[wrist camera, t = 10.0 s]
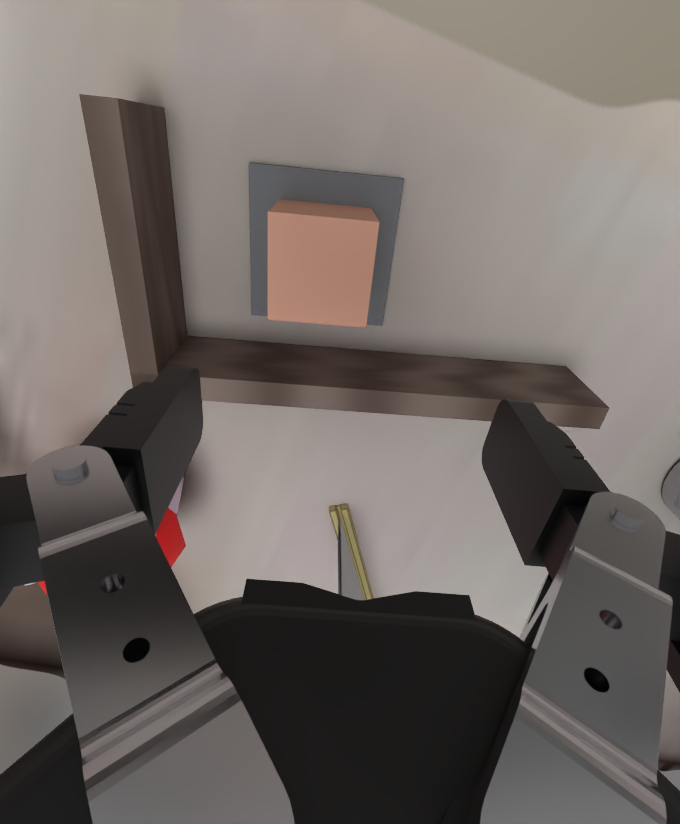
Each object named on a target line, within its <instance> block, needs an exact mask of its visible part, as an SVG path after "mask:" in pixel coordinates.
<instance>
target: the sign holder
mask: <svg viewBox="0 0 680 824" xmlns="http://www.w3.org/2000/svg"><path fill="white" fill-rule="evenodd" d="M329 513H330V516H331V520H332V523H333V526H334V529H335V533H336V536H337V539H338V594H339V595H342V596H345V597H349V598H352V599H355V600H369V599H373V595H372V592H371V588H370V584H369V580H368V577H367V573H366V569H365V566H364V562H363V558H362V555H361V551H360V547H359V544H358V540H357V536H356V533H355V529H354V525H353V522H352V518H351V514H350V511H349V507H348V504H340V505H334V506H330V507H329Z"/></svg>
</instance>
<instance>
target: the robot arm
mask: <svg viewBox="0 0 680 824" xmlns="http://www.w3.org/2000/svg"><path fill="white" fill-rule="evenodd" d="M202 429H203V412H202V398H201V383H200V374H199V371H198V369H197V368H191V367H181V366H171V365H167V366H165V367H164V369H163V370H162V371H161V373H160V374H159V375H158V376H157V378H156V379H155V380H154V381H153V383H152V382H143V383H141V384H139V385H137V386H135V387H133V388H132V389H130V390H128V391H127V392H126V393H125V394H124V395H123V396H122V397H121V399H120V400H119V401H118V402H117V405H115V406H114V407H113V408H112V409H111V410H110V411H109V415H106V416H105V417H104V418H103V419H102V421H101V422H100V423H99V424H98V425H97V426H96V427H95V429H94V430H93V431H92V432H91V433H90V434H89V436H88V437H87V438H86V439H85V440H84V441H83V443H82V444H81V445H80V446H71V447H66V448H62V449H59V450H56V451H53V452H51V453H49V454H47V455H45V456H43V457H41V458H40V459H38V460H37V461H36V462H35V463H33V465H32V466H31V467H30V468H29V470H28V472H27V474H23V475H15V476H6V477H0V607H1V605H2V604H3V602H4V601H5V599H6V598H7V596H8V595H9V593H10V592H11V590H12V589H13V587H15V586H20V585H25V584H30V583H36V582H41V581H45V585H46V590H47V594H48V599H49V604H50V608H51V613H52V618H53V622H54V627H55V632H56V636H57V641H58V645H59V650H60V655H61V659H62V664H63V669H64V673H65V678H66V683H67V687H68V692H69V696H70V701H71V706H72V710H73V714H72V715H70V716H69V717H68V718H67V719H66V720H64V721H63V722H62V723H61V724H60V725H58V726H57V727H56V728H55V729H54V730H53V731H51V732H50V733H49V734H48V735H47V736H45V737H44V738H43V739H42V740H41V741H40V742H38V743H37V744H36V745H35V746H34V747H33V748H31V749H30V750H29V751H28V752H27V753H25V754H24V755H23V756H22V757H21V758H19V759H18V760H17V761H16V762H15V763H14V764H12V765H11V766H10V767H9V768H8V769H6V770H5V771H4V772H3V773H2V774H1V775H0V824H680V791H679V790H678V789H677V788H676V787H675V786H674V785H673V784H672V783H671V782H670V781H669V780H668V779H667V778H666V777H665V776H664V775H662V773H661V772H660V771H658V770H657V766H658V756H659V745H660V734H661V724H662V713H663V702H664V692H665V681H666V670H667V671H668V672H669V674H670V676H671V678H672V679H673V681H674V683H675V685H676V687H677V688H678V690H679V692H680V535H678V534H675V533H671V532H668V531H666V530H665V527H664V525H663V523H662V521H661V520H660V519H659V517H658V516H657V515H656V514H655V513H654V512H652V511H651V510H650V509H649V508H647V507H646V506H644V505H643V504H641V503H640V502H638V501H636V500H634V499H632V498H629V497H627V496H624V495H621V494H618V493H613V492H610V491H609V489H608V488H607V487H606V485H605V484H604V483H603V481H602V480H601V479H600V478H599V476H598V475H597V474H596V472H595V471H594V470H593V468H592V467H591V466H590V464H589V463H588V462H587V460H584V457H583V455H582V454H581V453H580V451H579V450H578V449H576V446H575V445H574V443H573V442H572V441H571V439H570V438H569V437H568V436H567V434H566V433H564V432H563V431H562V430H560V429H559V428H558V427H556V426H555V425H554V424H552V423H551V422H547V420H546V419H545V418H544V416H543V415H542V414H541V412H540V411H539V409H538V408H537V407H536V405H535V404H534V403H533V402H528V401H517V400H507V399H503V400H502V401H501V402H500V403H499V405H498V407H497V409H496V412H495V415H494V418H493V420H492V423H491V426H490V429H489V432H488V435H487V437H486V440H485V443H484V446H483V451H482V465H483V469H484V471H485V473H486V476H487V478H488V480H489V483H490V485H491V487H492V490H493V492H494V494H495V497H496V499H497V501H498V504H499V506H500V508H501V511H502V513H503V515H504V518H505V520H506V522H507V525H508V527H509V529H510V532H511V534H512V536H513V539H514V541H515V543H516V546H517V548H518V550H519V553H520V555H521V557H522V560H523V562H524V564H525V565H530V566H542V567H546V568H547V570H548V572H549V573H548V574H547V576H546V578H545V580H544V582H543V584H542V586H541V588H540V591H539V593H538V595H537V598H536V600H535V602H534V605H533V607H532V609H531V612H530V614H529V616H528V619H527V621H526V623H525V626H524V628H523V630H522V633H521V635H520V637H519V638H518V637H517V636H515V635H514V634H513V633H511V632H510V631H508V630H507V629H505V628H503V627H501V626H499V625H497V624H496V623H494V622H492V621H489V620H487V619H485V618H482V617H480V616H477V615H474V611H473V607H472V604H471V600H470V597H469V595H456V594H443V593H429V592H410V593H404V594H398V595H392V596H386V597H381V598H375V599H369V600H355V599H352V598H349V597H345V596H342V595H339V594H336V593H333V592H329V591H326V590H323V589H320V588H317V587H314V586H310V585H307V584H304V583H295V582H282V581H268V580H255V579H247V580H246V585H245V589H244V594H243V597H239V598H234V599H230V600H226V601H223V602H219V603H217V604H214V605H212V606H209V607H207V608H205V609H203V610H201V611H199V612H197V613H195V614H193V612H192V610H191V608H190V606H189V604H188V602H187V600H186V598H185V596H184V594H183V592H182V589H181V587H180V585H179V583H178V581H177V579H176V577H175V575H174V573H173V571H172V569H171V567H170V565H169V563H168V561H167V559H166V557H165V554H164V552H163V550H162V548H161V546H160V544H159V542H158V540H157V538H156V536H155V534H156V532H157V530H158V528H159V526H160V523H161V521H162V519H163V517H164V515H165V513H166V511H167V509H168V507H169V505H170V502H171V500H172V498H173V496H174V494H175V492H176V490H177V488H178V486H179V484H180V482H181V479H182V477H183V475H184V473H185V471H186V469H187V467H188V465H189V463H190V461H191V459H192V456H193V454H194V452H195V450H196V448H197V446H198V444H199V442H200V439H201V435H202ZM662 496H663V500H664V502H665V504H666V505H667V506H668V507H669V509H670V510H671V511H672V512H673V513H674V514H675V515H676V516H677V517H678V518H679V519H680V461H679V462H678V463H677V464H676V465H675V466H674V467H673V469H672V470H671V471H670V473H669V474H668V476H667V478H666V480H665V482H664V484H663V489H662Z"/></svg>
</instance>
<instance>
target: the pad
mask: <svg viewBox="0 0 680 824" xmlns="http://www.w3.org/2000/svg"><path fill="white" fill-rule="evenodd" d="M403 183H404V179H403V178H395V177H385V176H375V175H366V174H356V173H346V172H336V171H327V170H317V169H307V168H298V167H288V166H278V165H268V164H259V163H249V203H250V260H251V315H260V316H268V211H269V210H270V209H271V208H272V207H273V206H274V205H275V204H276V203H277V202H278V201H279V200H280V199H284V200H294V201H304V202H314V203H325V204H335V205H345V206H356V207H366V208H372V210H373V211H374V213H375V215H376V217H377V219H378V220H379V230H378V238H377V246H376V254H375V262H374V270H373V277H372V285H371V293H370V301H369V309H368V317H367V324H368V325H380V326H382V324H383V318H384V311H385V304H386V298H387V291H388V284H389V277H390V271H391V264H392V257H393V250H394V244H395V237H396V230H397V224H398V217H399V210H400V203H401V197H402V190H403Z"/></svg>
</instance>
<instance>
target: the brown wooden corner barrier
mask: <svg viewBox="0 0 680 824" xmlns="http://www.w3.org/2000/svg"><path fill="white" fill-rule="evenodd" d="M79 95H80V100H81V106H82V111H83V117H84V122H85V127H86V133H87V138H88V144H89V149H90V155H91V160H92V166H93V171H94V177H95V182H96V188H97V193H98V198H99V204H100V209H101V215H102V220H103V226H104V231H105V237H106V242H107V248H108V253H109V259H110V264H111V269H112V275H113V280H114V286H115V291H116V297H117V302H118V308H119V313H120V319H121V324H122V330H123V335H124V340H125V346H126V351H127V357H128V362H129V368H130V373H131V379H132V384H133V387H135V386H137V385H139V384H141V383H143V382H152V383H153V381H154V380H155V379H156V378H157V376H158V375H159V374H160V373H161V371H162V370H163V369H164V367H165V366H167V365H171V366H181V367H191V368H197V369H198V371H199V374H200V383H201V398H202V400H204V401H218V402H232V403H245V404H259V405H273V406H287V407H301V408H315V409H329V410H343V411H356V412H370V413H384V414H398V415H412V416H426V417H440V418H453V419H467V420H481V421H492V420H493V418H494V415H495V412H496V409H497V407H498V405H499V403H500V402H501V401H502V400H503V399H507V400H517V401H528V402H533V403H534V404H535V405H536V407H537V408H538V409H539V411H540V412H541V414H542V415H543V416H544V418H545V419H546V420H547V422H551V423H552V424H554V425H555V426H564V427H578V428H592V429H600V426H601V424H602V422H603V420H604V418H605V416H606V414H607V412H608V410H609V407H608V406H607V405H606V404H605V403H604V402H603V401H602V400H601V399H600V398H599V397H597V396H596V395H595V394H594V393H593V392H592V391H591V390H590V389H589V388H588V387H587V386H586V385H585V384H584V383H583V382H582V381H581V380H580V379H579V378H578V377H577V376H576V375H575V374H574V373H573V372H572V371H571V370H569V369H568V368H567V367H566V366H554V365H541V364H529V363H516V362H504V361H491V360H479V359H466V358H454V357H441V356H429V355H416V354H404V353H391V352H379V351H367V350H354V349H342V348H329V347H317V346H304V345H292V344H279V343H267V342H254V341H242V340H229V339H217V338H204V337H192V336H187V331H186V321H185V311H184V301H183V291H182V281H181V272H180V262H179V252H178V242H177V232H176V222H175V212H174V202H173V193H172V183H171V173H170V163H169V153H168V143H167V133H166V124H165V114H164V108H162V107H157V106H152V105H147V104H142V103H137V102H133V101H128V100H123V99H118V98H110V97H100V96H91V95H82V94H79Z"/></svg>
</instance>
